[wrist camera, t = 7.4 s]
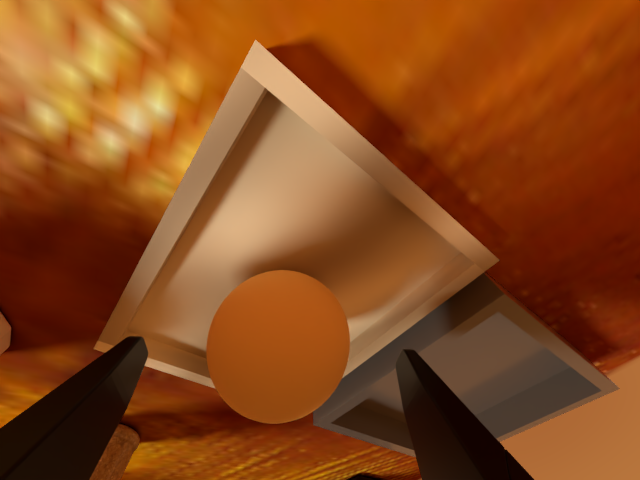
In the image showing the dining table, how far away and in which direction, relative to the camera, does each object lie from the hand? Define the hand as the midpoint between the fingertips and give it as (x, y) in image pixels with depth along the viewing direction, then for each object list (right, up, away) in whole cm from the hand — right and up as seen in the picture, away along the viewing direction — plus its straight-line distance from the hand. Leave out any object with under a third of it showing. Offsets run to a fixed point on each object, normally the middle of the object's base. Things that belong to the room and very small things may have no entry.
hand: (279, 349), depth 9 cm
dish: (+10, -5, +7) cm, 13 cm away
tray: (0, +2, +3) cm, 4 cm away
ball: (0, +2, +2) cm, 3 cm away
